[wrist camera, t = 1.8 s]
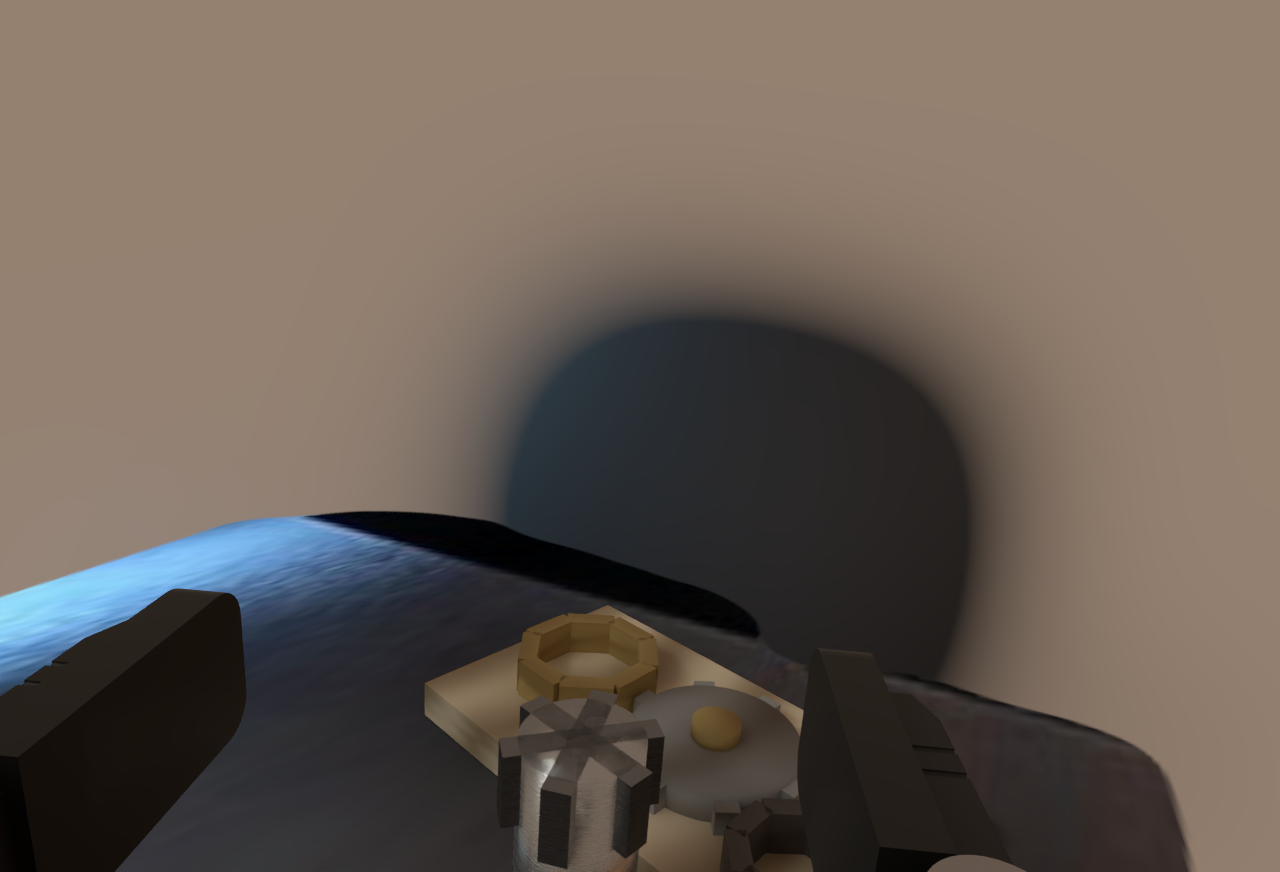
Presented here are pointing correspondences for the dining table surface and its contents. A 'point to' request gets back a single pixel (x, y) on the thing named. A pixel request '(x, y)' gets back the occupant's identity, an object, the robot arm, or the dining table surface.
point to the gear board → (689, 718)
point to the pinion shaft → (579, 784)
